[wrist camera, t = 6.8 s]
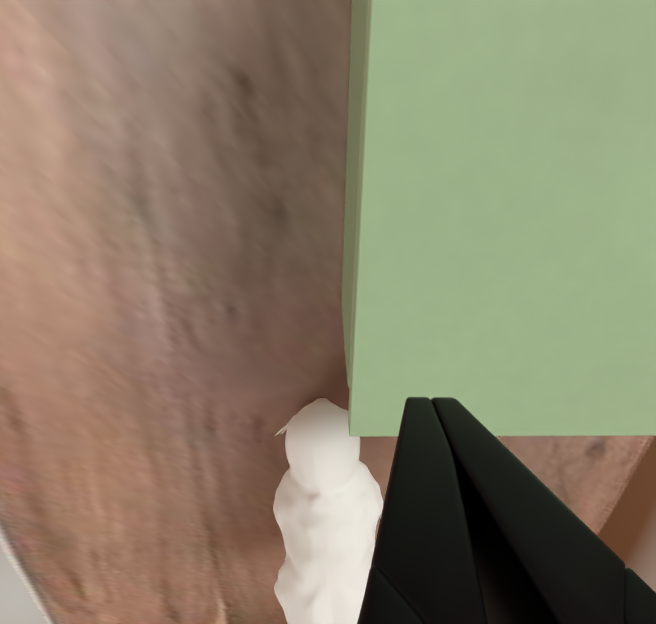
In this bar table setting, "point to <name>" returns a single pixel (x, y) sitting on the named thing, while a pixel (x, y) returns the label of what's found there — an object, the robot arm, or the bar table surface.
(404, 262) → the lid
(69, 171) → the bar table surface
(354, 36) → the box
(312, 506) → the white animal figurine
